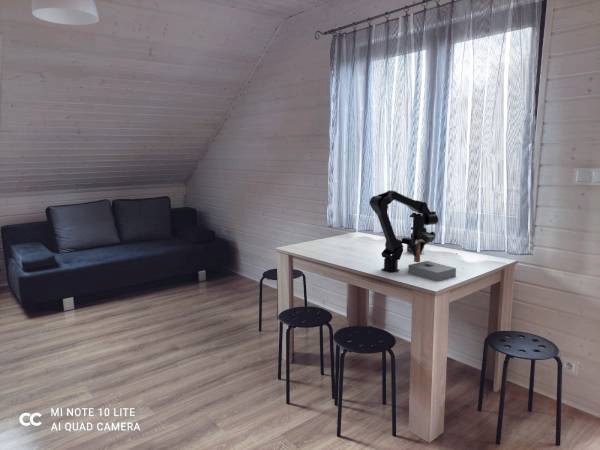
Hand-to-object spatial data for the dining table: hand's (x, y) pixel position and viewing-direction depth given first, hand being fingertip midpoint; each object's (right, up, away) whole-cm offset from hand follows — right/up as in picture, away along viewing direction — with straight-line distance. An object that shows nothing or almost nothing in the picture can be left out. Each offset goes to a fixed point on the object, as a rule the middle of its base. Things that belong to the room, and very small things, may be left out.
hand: (417, 255), depth 229 cm
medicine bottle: (+7, -1, +32) cm, 32 cm away
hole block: (+4, -8, -13) cm, 16 cm away
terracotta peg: (0, -3, +1) cm, 3 cm away
